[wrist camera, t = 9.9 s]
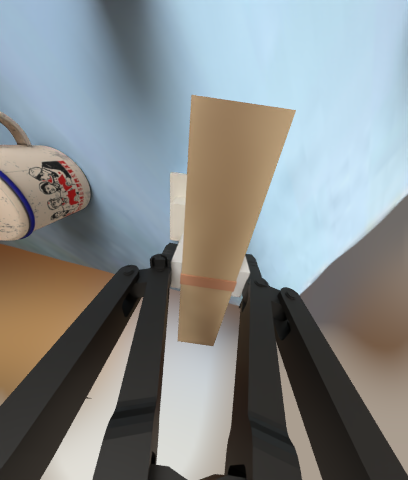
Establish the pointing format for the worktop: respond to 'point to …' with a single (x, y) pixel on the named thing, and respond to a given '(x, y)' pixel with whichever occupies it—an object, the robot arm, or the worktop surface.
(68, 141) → the worktop surface
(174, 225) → the fulcrum
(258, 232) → the worktop surface
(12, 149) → the teacup with lid
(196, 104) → the beam
